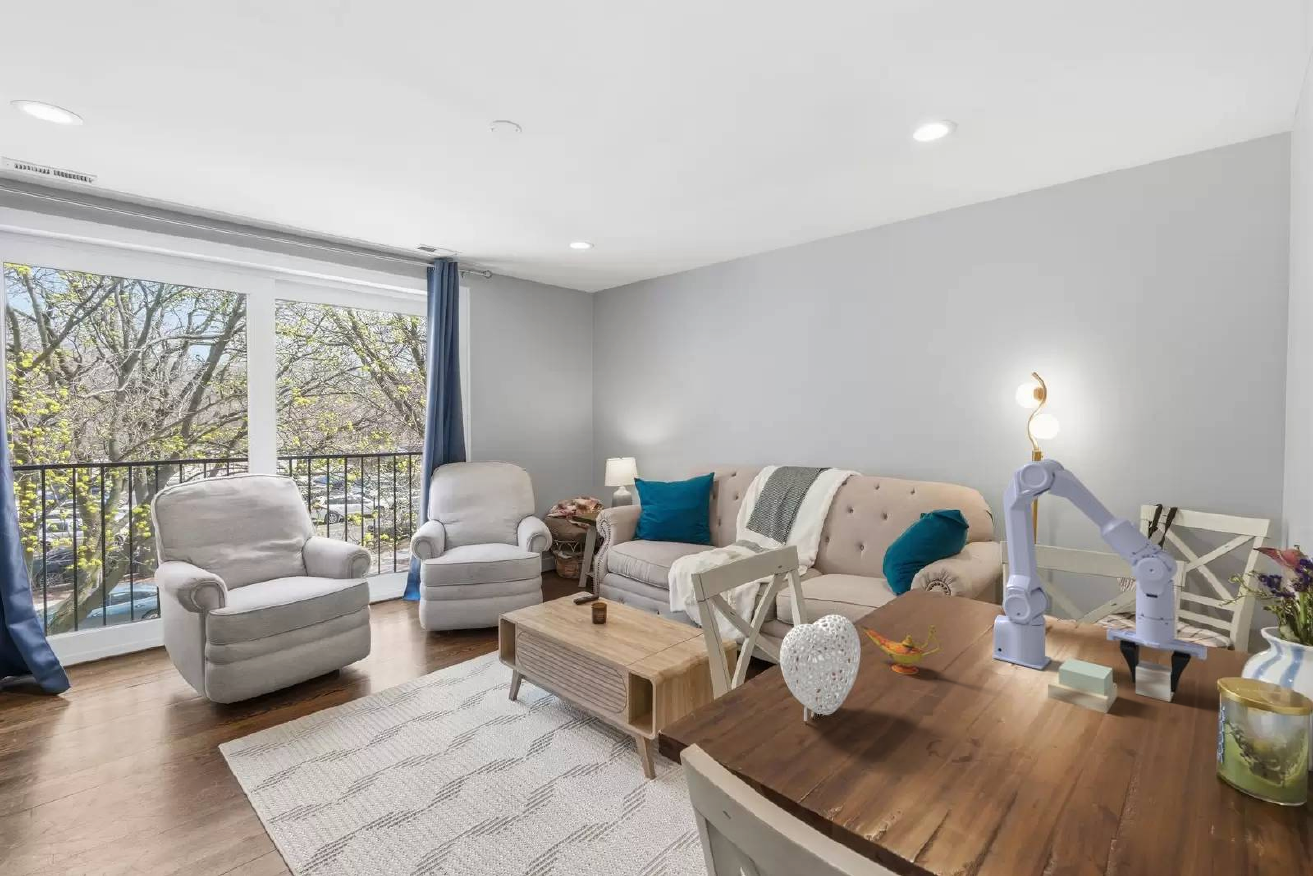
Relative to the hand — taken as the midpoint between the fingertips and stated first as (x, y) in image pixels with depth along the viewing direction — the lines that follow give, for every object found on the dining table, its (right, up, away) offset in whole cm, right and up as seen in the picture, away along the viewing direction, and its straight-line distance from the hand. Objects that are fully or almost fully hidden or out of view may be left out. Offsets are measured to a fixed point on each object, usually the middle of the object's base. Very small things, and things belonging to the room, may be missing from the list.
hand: (1154, 686), depth 114 cm
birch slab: (-14, -2, -1) cm, 15 cm away
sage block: (-14, +1, -1) cm, 14 cm away
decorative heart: (-65, -3, -6) cm, 66 cm away
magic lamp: (-43, -2, +14) cm, 46 cm away
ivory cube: (0, -1, 0) cm, 1 cm away
